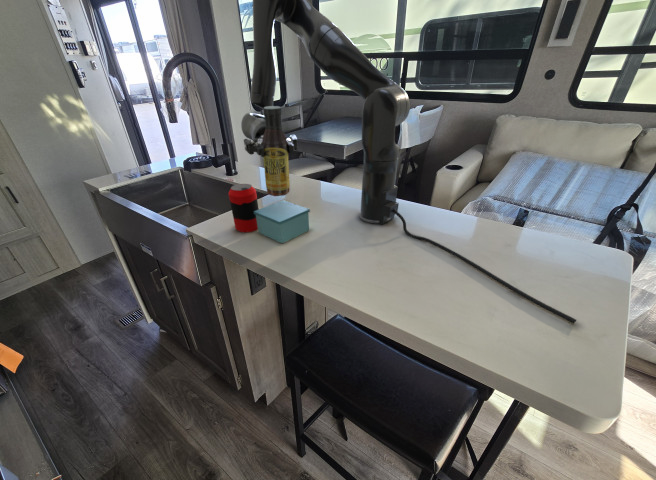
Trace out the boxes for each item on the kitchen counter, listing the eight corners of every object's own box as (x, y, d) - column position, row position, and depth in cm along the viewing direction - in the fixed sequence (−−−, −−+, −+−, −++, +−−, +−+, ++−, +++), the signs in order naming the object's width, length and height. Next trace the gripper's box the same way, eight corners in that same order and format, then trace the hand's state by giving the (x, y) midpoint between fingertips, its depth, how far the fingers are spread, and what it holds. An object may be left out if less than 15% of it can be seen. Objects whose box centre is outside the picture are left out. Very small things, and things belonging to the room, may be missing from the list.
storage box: (310, 230, 89) (309, 209, 85) (281, 244, 83) (279, 222, 79) (285, 220, 95) (283, 199, 92) (256, 232, 89) (253, 211, 86)
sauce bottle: (264, 197, 81) (252, 109, 68) (269, 188, 85) (258, 105, 73) (289, 197, 80) (281, 108, 68) (293, 188, 85) (286, 104, 72)
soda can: (242, 235, 88) (234, 193, 81) (231, 226, 93) (223, 186, 86) (265, 227, 92) (260, 187, 84) (253, 219, 97) (247, 180, 89)
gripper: (238, 124, 83) (244, 136, 70) (290, 119, 86) (305, 130, 73) (242, 154, 88) (249, 170, 75) (292, 148, 91) (306, 164, 78)
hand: (276, 150), depth 74 cm, fingers closed on sauce bottle, 6 cm apart
